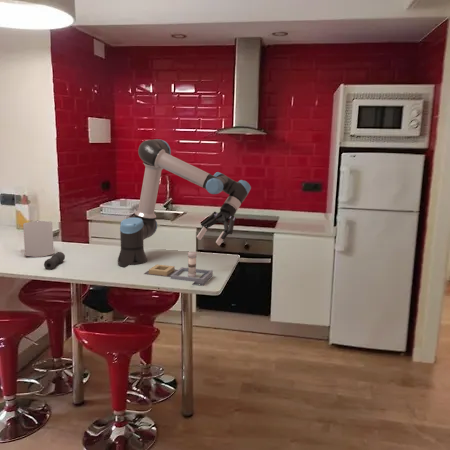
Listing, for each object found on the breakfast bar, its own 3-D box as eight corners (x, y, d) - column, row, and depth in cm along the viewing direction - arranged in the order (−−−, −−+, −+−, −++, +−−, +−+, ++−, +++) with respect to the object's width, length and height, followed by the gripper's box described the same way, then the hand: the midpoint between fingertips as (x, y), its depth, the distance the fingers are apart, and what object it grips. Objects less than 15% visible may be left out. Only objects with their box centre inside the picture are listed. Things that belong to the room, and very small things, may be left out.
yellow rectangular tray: (143, 276, 224) (143, 269, 223) (153, 269, 235) (153, 263, 235) (170, 280, 220) (170, 273, 219) (179, 272, 231) (179, 266, 231)
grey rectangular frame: (170, 281, 218) (170, 275, 217) (181, 273, 231) (181, 267, 231) (203, 285, 214) (203, 279, 213) (212, 276, 227) (212, 270, 226)
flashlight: (54, 270, 232) (53, 260, 230) (43, 270, 232) (42, 259, 231) (65, 261, 247) (64, 251, 245) (55, 261, 247) (54, 251, 246)
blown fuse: (186, 277, 221) (186, 253, 218) (189, 275, 225) (189, 251, 222) (194, 278, 220) (194, 254, 217) (197, 276, 224) (197, 252, 221)
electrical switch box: (53, 253, 270) (51, 218, 268) (54, 256, 256) (51, 219, 254) (26, 255, 264) (24, 219, 263) (25, 258, 251) (22, 221, 249)
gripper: (252, 215, 227) (229, 250, 219) (216, 208, 244) (194, 240, 237) (245, 205, 222) (222, 241, 215) (209, 199, 239) (186, 232, 232)
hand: (207, 241), depth 226 cm, fingers open, 13 cm apart
